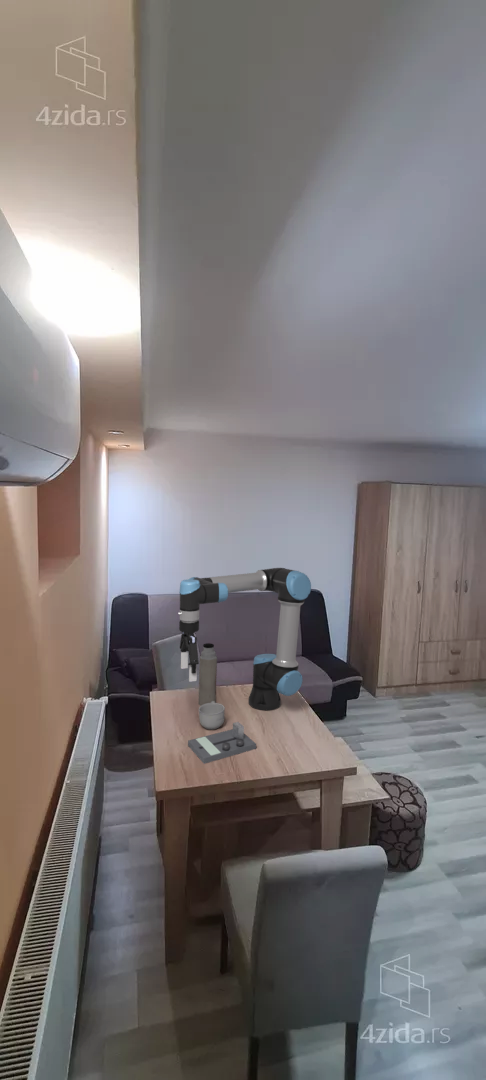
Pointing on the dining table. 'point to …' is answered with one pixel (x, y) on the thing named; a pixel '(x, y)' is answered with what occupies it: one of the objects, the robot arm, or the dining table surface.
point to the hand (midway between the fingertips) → (188, 674)
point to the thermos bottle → (207, 674)
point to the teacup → (211, 715)
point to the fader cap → (238, 730)
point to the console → (220, 746)
